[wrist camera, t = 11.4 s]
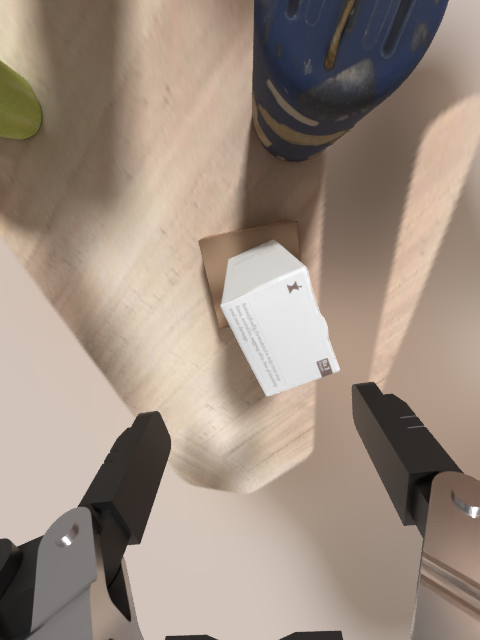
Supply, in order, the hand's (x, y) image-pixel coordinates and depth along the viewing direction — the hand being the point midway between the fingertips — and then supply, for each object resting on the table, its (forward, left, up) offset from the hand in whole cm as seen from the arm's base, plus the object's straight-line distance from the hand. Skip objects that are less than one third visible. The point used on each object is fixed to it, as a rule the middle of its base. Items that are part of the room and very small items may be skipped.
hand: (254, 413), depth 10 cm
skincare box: (0, +2, -21) cm, 21 cm away
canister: (-16, +8, -26) cm, 31 cm away
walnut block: (0, 0, -26) cm, 26 cm away
